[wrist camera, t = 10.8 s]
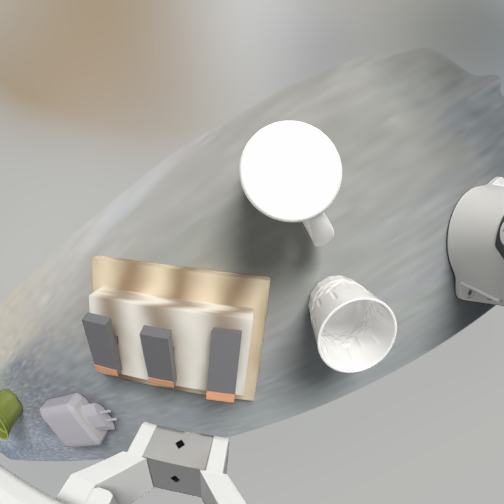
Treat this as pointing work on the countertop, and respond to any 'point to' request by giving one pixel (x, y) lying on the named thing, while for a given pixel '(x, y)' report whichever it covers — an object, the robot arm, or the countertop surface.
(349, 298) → the white cup
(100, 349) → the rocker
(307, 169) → the mug
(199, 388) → the switch panel
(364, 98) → the countertop surface
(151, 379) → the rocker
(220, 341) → the rocker
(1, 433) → the plant pot
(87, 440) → the charger
